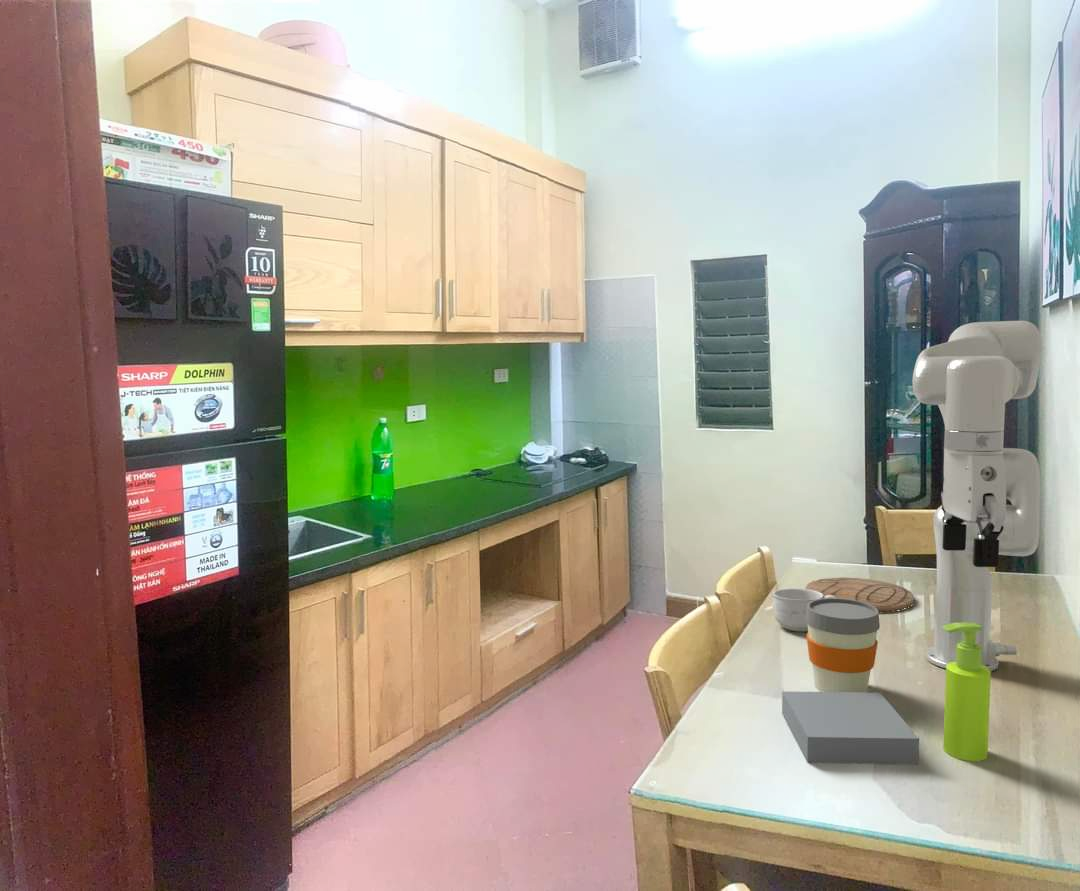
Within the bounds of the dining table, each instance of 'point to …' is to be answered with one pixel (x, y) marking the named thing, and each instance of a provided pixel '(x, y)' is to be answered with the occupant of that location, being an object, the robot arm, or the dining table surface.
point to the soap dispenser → (967, 698)
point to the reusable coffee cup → (841, 643)
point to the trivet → (865, 592)
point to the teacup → (794, 607)
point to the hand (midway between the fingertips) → (968, 557)
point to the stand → (849, 728)
